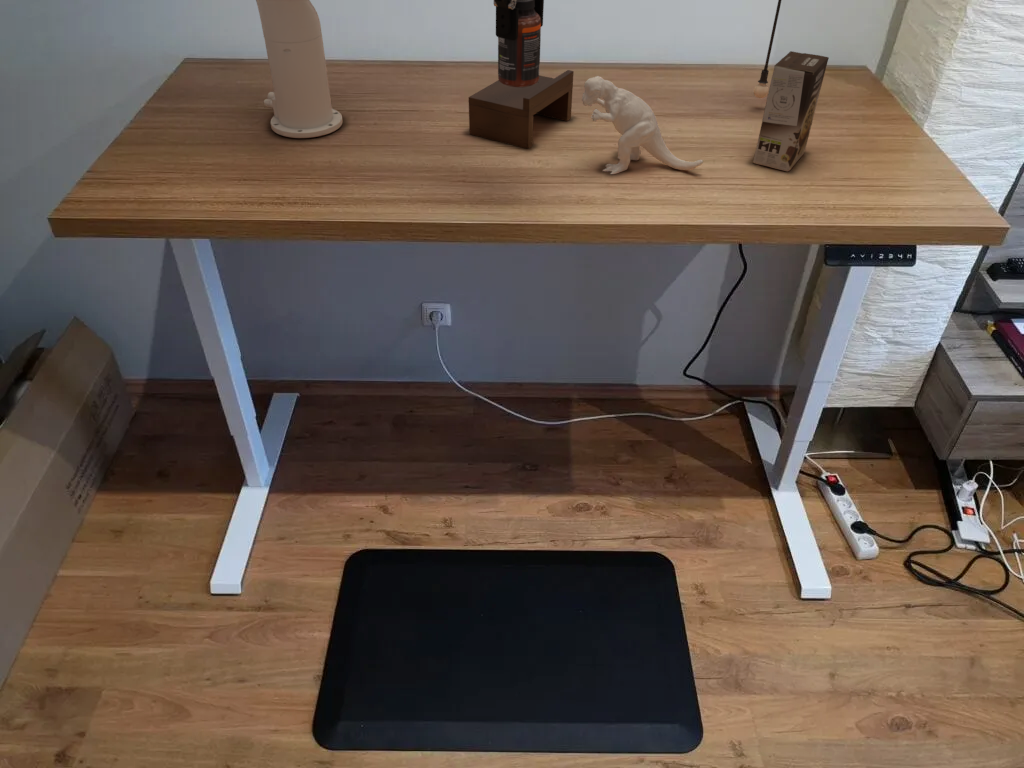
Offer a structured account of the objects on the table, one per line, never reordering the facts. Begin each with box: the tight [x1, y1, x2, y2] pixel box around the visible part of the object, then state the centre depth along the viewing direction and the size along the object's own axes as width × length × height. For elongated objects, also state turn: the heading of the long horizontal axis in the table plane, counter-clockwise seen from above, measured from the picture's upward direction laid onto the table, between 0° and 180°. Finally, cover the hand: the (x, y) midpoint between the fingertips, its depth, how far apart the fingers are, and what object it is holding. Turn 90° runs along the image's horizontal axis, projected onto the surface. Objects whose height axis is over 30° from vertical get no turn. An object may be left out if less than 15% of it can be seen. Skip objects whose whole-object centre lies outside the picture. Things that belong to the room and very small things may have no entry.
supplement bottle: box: [497, 0, 542, 87], centre depth 111 cm, size 6×6×11 cm
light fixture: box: [753, 0, 782, 99], centre depth 145 cm, size 7×7×25 cm
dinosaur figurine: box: [581, 75, 704, 175], centre depth 128 cm, size 20×10×15 cm, turn 79°
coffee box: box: [752, 50, 829, 172], centre depth 130 cm, size 9×6×16 cm
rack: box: [468, 69, 574, 150], centre depth 142 cm, size 12×16×9 cm
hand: (519, 30), depth 111 cm, fingers closed on supplement bottle, 6 cm apart
